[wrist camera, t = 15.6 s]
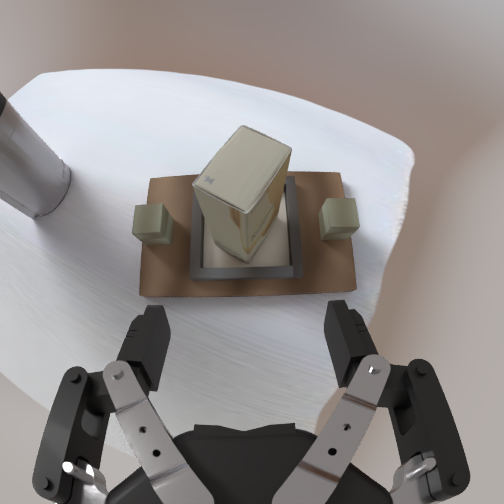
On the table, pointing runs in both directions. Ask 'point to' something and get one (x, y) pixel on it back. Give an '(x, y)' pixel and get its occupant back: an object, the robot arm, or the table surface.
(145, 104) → the table surface
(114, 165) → the table surface
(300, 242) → the build base
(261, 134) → the skincare box
